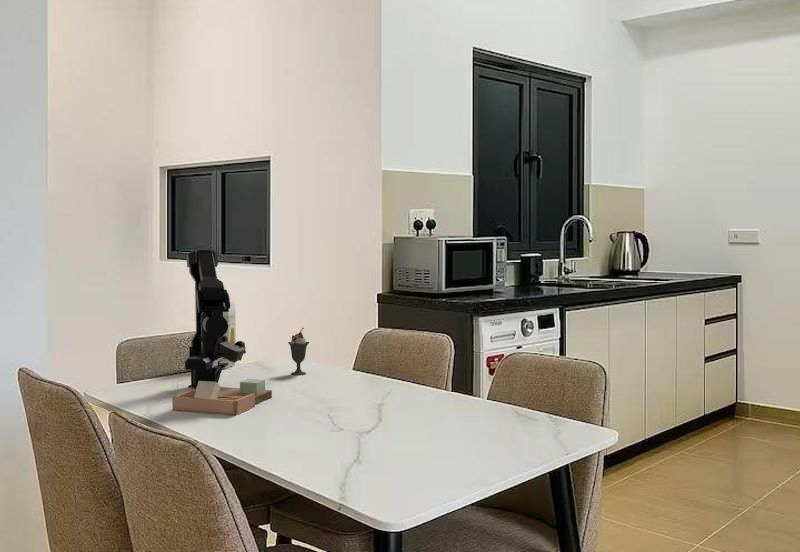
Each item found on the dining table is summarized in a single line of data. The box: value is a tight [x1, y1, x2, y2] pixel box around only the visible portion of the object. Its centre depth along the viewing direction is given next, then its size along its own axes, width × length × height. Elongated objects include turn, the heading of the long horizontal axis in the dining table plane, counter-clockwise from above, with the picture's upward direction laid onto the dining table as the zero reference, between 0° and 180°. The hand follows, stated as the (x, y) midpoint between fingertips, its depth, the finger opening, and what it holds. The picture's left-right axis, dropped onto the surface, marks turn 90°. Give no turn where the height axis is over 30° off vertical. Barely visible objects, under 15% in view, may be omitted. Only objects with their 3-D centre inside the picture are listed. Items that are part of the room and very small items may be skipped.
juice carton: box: [223, 298, 237, 370], centre depth 264 cm, size 9×8×24 cm
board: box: [218, 386, 273, 406], centre depth 212 cm, size 16×12×2 cm
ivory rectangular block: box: [194, 381, 222, 399], centre depth 206 cm, size 5×5×3 cm
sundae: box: [287, 327, 310, 376], centre depth 252 cm, size 7×7×15 cm
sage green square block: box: [239, 378, 266, 394], centre depth 214 cm, size 5×5×3 cm
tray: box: [171, 388, 256, 416], centre depth 202 cm, size 18×10×4 cm, turn 73°
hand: (213, 390), depth 209 cm, fingers closed
